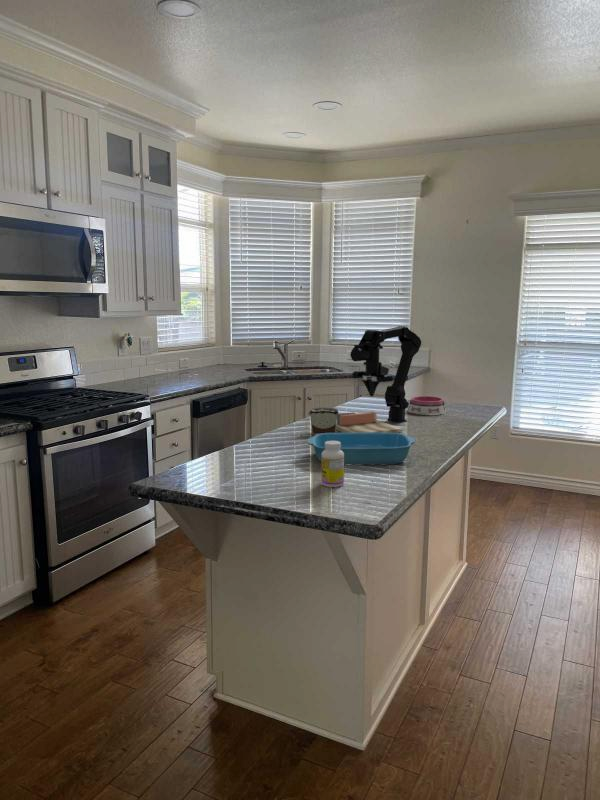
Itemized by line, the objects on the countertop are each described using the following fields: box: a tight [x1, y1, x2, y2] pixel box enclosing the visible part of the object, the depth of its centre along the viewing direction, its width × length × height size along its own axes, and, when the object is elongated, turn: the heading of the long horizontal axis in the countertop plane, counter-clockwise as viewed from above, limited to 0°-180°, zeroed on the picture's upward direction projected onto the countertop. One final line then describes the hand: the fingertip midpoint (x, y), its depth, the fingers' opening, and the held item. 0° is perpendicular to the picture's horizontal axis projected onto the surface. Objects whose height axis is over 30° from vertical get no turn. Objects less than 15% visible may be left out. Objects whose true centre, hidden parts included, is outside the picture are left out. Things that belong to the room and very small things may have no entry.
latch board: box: [336, 412, 403, 433], centre depth 247 cm, size 22×20×6 cm
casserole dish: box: [306, 432, 416, 465], centre depth 203 cm, size 37×22×7 cm, turn 88°
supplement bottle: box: [320, 441, 345, 488], centre depth 174 cm, size 7×7×13 cm
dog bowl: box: [407, 395, 447, 415], centre depth 286 cm, size 18×19×7 cm
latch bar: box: [339, 411, 377, 426], centre depth 252 cm, size 17×3×4 cm, turn 115°
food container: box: [308, 407, 340, 435], centre depth 243 cm, size 12×6×10 cm, turn 84°
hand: (371, 396), depth 253 cm, fingers closed
